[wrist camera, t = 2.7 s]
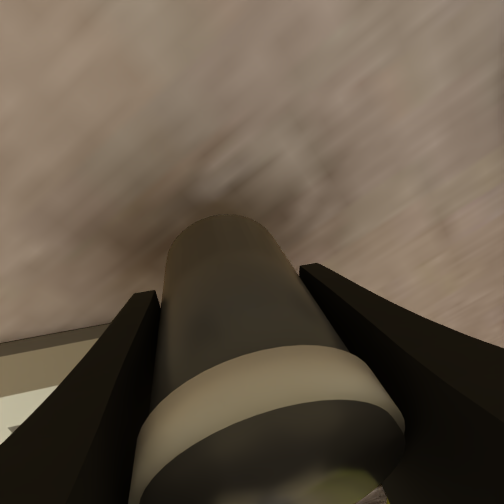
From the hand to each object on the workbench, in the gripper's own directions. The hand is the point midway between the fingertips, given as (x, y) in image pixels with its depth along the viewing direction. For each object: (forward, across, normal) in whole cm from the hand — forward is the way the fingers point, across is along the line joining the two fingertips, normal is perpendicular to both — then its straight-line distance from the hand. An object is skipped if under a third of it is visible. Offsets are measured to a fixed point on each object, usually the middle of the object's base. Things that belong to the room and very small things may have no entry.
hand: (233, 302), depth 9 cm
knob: (+2, 0, 0) cm, 2 cm away
